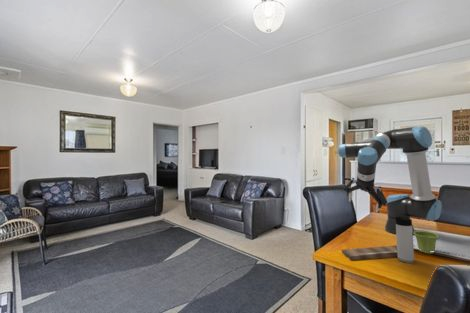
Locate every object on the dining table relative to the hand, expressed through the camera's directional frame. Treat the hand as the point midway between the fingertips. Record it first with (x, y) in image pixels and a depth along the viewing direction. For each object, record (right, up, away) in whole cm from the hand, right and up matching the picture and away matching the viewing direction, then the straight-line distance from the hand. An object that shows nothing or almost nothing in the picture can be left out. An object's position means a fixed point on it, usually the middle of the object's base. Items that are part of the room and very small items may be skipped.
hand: (363, 205), depth 124 cm
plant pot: (+27, -22, -8) cm, 36 cm away
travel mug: (+11, -22, -16) cm, 30 cm away
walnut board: (+1, -23, -9) cm, 24 cm away
